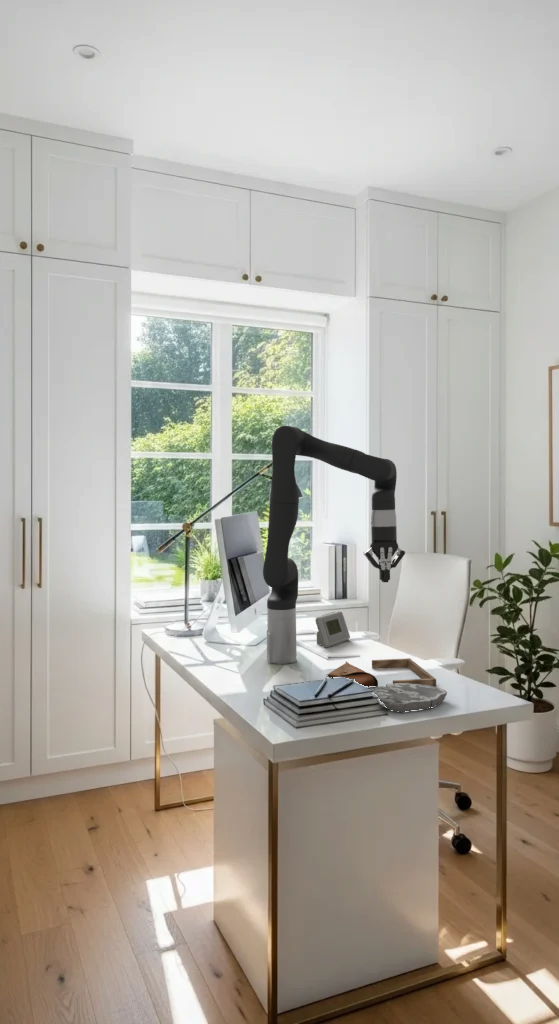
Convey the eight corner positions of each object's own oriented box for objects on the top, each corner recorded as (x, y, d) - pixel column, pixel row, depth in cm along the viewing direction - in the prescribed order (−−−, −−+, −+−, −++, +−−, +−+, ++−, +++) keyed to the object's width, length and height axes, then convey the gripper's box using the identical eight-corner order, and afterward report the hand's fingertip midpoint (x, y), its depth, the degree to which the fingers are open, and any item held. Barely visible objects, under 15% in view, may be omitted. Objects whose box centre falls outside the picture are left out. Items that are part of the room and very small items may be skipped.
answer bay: (393, 690, 194) (393, 681, 194) (371, 668, 218) (371, 660, 218) (436, 688, 196) (436, 679, 196) (409, 666, 219) (409, 658, 219)
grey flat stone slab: (407, 689, 196) (407, 678, 196) (456, 704, 182) (456, 692, 182) (355, 703, 184) (355, 692, 184) (404, 720, 171) (404, 708, 170)
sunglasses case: (322, 674, 211) (333, 654, 212) (341, 684, 214) (350, 664, 215) (352, 690, 194) (362, 668, 196) (371, 700, 197) (381, 679, 198)
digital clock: (325, 649, 244) (325, 618, 244) (307, 645, 251) (306, 615, 250) (357, 641, 255) (356, 612, 255) (338, 638, 262) (338, 609, 261)
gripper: (365, 526, 209) (367, 584, 210) (408, 524, 211) (410, 582, 212) (359, 525, 217) (360, 581, 217) (401, 523, 219) (402, 579, 219)
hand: (385, 581), depth 215 cm, fingers closed
